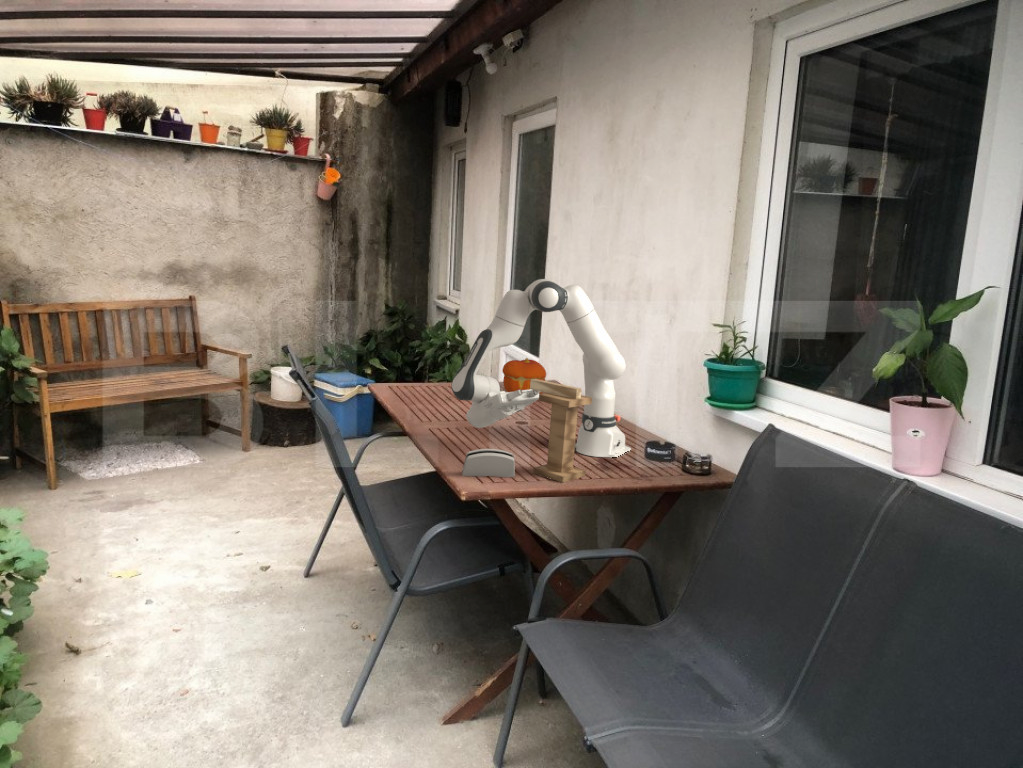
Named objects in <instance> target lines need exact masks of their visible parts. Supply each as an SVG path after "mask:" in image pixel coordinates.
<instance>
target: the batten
mask: <svg viewBox="0 0 1023 768" xmlns="http://www.w3.org/2000/svg"><path fill="white" fill-rule="evenodd" d="M530 389H532V390H536V391H541V392H542V393H544V394H547V393H550V394H554V395H559V396H563V397H568V398H572V399H581V395H582V388H581V387H575V386H570V385H566V384H561V383H556V382H552V381H547V380H545V381H542V380H538V379H531V382H530Z"/></svg>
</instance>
